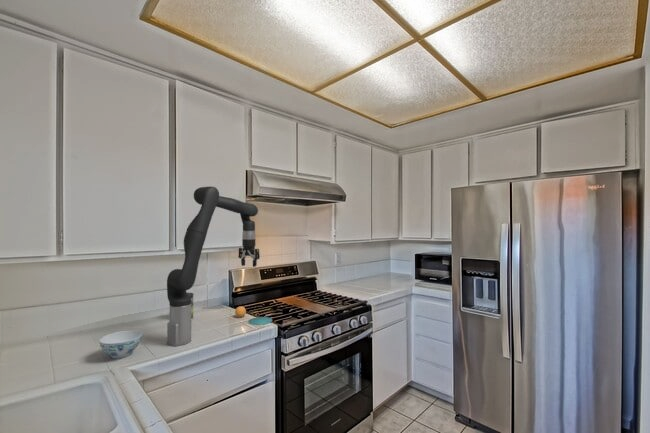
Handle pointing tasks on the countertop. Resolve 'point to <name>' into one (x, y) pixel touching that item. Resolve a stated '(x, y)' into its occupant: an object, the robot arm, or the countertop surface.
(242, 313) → the ball
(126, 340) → the chinaware
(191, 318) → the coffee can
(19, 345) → the countertop surface
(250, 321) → the disc
